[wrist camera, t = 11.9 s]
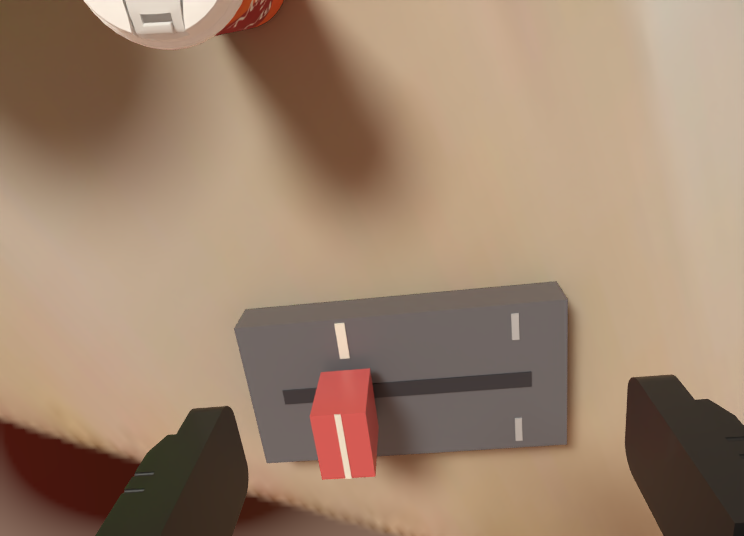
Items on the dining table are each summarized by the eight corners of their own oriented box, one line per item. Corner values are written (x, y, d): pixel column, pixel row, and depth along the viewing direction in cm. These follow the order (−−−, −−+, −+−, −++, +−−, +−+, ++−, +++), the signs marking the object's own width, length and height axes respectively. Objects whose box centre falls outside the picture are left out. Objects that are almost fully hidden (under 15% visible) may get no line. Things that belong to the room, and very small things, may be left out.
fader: (370, 363, 40) (365, 412, 34) (379, 421, 41) (375, 476, 36) (321, 367, 40) (309, 416, 35) (332, 424, 42) (322, 480, 36)
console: (556, 281, 40) (568, 300, 37) (556, 419, 44) (567, 445, 42) (245, 309, 42) (233, 329, 39) (275, 438, 47) (266, 464, 44)
